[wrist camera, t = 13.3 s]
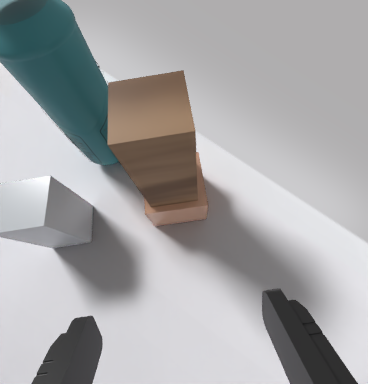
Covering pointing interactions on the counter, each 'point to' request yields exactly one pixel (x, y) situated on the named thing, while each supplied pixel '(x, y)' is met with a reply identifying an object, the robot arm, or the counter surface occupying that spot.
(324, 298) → the counter surface
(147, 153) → the tan rectangular block
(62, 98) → the beverage bottle
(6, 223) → the grey post
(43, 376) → the robot arm
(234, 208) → the counter surface
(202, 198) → the terracotta block
